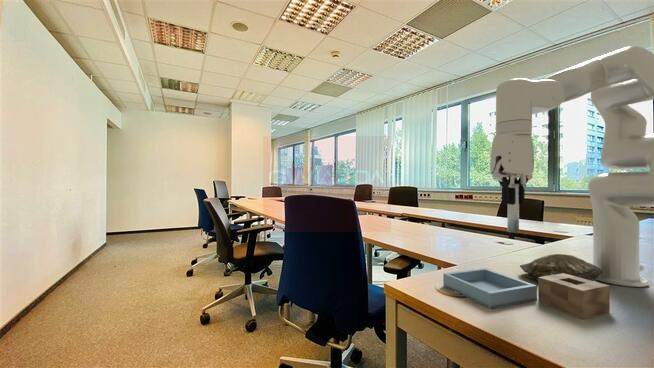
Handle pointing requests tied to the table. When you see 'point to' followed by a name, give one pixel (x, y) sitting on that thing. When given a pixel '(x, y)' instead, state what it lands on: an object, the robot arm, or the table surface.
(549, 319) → the table surface
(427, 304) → the table surface
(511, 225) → the steel pin
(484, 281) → the tray
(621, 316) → the table surface
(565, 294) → the pin holder
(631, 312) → the table surface
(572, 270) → the crinkled plastic bag
